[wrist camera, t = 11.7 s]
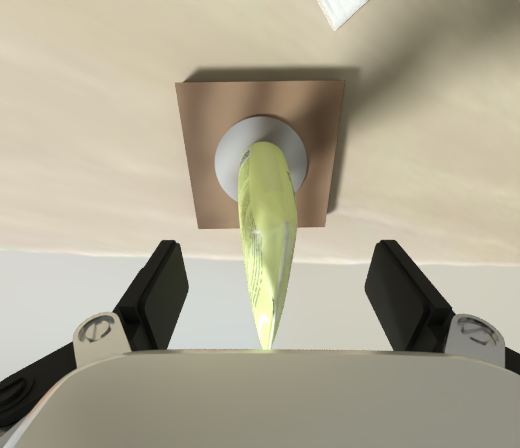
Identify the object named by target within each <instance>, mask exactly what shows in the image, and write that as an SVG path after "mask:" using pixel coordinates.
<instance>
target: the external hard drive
mask: <svg viewBox="0 0 520 448" xmlns="http://www.w3.org/2000/svg"><path fill="white" fill-rule="evenodd" d="M317 1H318V3H319V5H320V7H321V9H322V11H323V12H324V14H325V16H326V18H327V20H328V22H329V24H330V25H331V27H332V29H333V31H336V30H337V29H338V28H339V27H340V26H341V25H342V24H343V23H344V22H345V21H347V20H348V19H349V18H350V17H351V16H352V15H353V14H354V13H355V12H356V11H357V10H358V9H360V8H361V7H362V6H363V5H364V4H365V3H366V2H367V1H368V0H317Z"/></svg>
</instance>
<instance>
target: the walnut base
mask: <svg viewBox="0 0 520 448" xmlns="http://www.w3.org/2000/svg"><path fill="white" fill-rule="evenodd" d="M344 85H345V80H323V81H254V82H186V83H175V87H176V93H177V99H178V105H179V112H180V118H181V124H182V130H183V136H184V143H185V149H186V155H187V161H188V167H189V174H190V180H191V186H192V192H193V198H194V205H195V211H196V217H197V223H198V229H229V228H240V222H239V209H238V179H239V167H240V160H241V157H242V154H243V153H244V151H245V150H246V149H247V148H248V147H249V146H250V145H252V144H254V143H257V142H270V143H273V144H274V145H276V146H277V147H279V148H280V150H281V151H282V152H283V154H284V156H285V159H286V162H287V165H288V168H289V171H290V175H291V179H292V183H293V187H294V192H295V197H296V207H297V227H325V222H326V214H327V207H328V200H329V193H330V186H331V178H332V171H333V164H334V157H335V150H336V142H337V135H338V128H339V121H340V113H341V106H342V99H343V92H344Z"/></svg>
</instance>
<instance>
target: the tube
mask: <svg viewBox="0 0 520 448" xmlns="http://www.w3.org/2000/svg"><path fill="white" fill-rule="evenodd" d="M238 209H239V222H240V231H241V240H242V248H243V255H244V262H245V269H246V275H247V283H248V289H249V294H250V300H251V305H252V309H253V313H254V318H255V322H256V327H257V331H258V334H259V338H260V342H261V345H262V348H263V349H271V348H272V344H273V341H274V338H275V336H276V333H277V329H278V326H279V322H280V318H281V315H282V310H283V307H284V302H285V297H286V292H287V286H288V280H289V276H290V269H291V264H292V259H293V253H294V247H295V240H296V232H297V207H296V197H295V192H294V187H293V183H292V179H291V175H290V171H289V168H288V165H287V162H286V159H285V156H284V154H283V152H282V151H281V150H280V148H279V147H277V146H276V145H274V144H273V143H270V142H257V143H254V144H252V145H250V146H249V147H248V148H247V149H246V150H245V151H244V153H243V154H242V157H241V160H240V167H239V179H238Z"/></svg>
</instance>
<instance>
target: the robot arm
mask: <svg viewBox="0 0 520 448" xmlns="http://www.w3.org/2000/svg"><path fill="white" fill-rule="evenodd" d="M188 289H189V285H188V280H187V276H186V271H185V266H184V262H183V257H182V252H181V247H180V244H179V243H176V241H175V240H162V241H161V242H160V244H159V245H158V247H157V248H156V250H155V251H154V253H153V254H152V256H151V257H150V259H149V260H148V262H147V263H146V265H145V267H144V268H142V269H141V270H140V271H139V273H138V274H137V276H136V277H135V279H134V280H133V282H132V283H131V285H130V286H129V288H128V289H127V291H126V292H125V294H124V295H123V297H122V298H121V300H120V301H119V303H118V304H117V305H116V307H115V308H114V310H113V312H103V313H99V314H96V315H93V316H92V317H90V318H88V319H86V320H85V321H84V322H83V323H81V324H80V325H79V327H78V328H77V329H76V331H75V332H74V335H73V342H71V343H69V344H67V345H65V346H64V347H62V348H60V349H58V350H57V351H54V352H53V353H51V354H49V355H47V356H45V357H43V358H42V359H40V360H38V361H36V362H34V363H32V364H31V365H29V366H27V367H25V368H23V369H22V370H20V371H18V372H16V373H14V374H12V375H10V376H9V377H7V378H6V379H4V380H3V381H1V382H0V448H520V354H519V353H517V352H515V351H513V350H511V349H509V348H507V347H505V342H504V338H503V336H502V335H501V334H500V332H499V331H498V330H497V329H496V328H494V327H493V326H492V325H490V324H489V323H488V322H486V321H484V320H482V319H480V318H478V317H475V316H473V315H468V314H457V315H456V314H455V313H454V312H453V311H452V307H451V306H450V305H449V303H448V302H447V301H446V300H445V299H444V297H442V295H441V294H440V293H439V292H438V290H437V289H436V288H435V287H434V286H433V284H431V282H430V281H429V280H428V278H427V277H426V276H425V275H424V274H423V272H422V271H421V270H420V269H419V268H418V266H417V265H416V264H415V263H414V262H413V260H412V259H411V258H410V257H409V256H408V255H407V253H406V252H405V251H404V250H403V249H402V247H401V246H400V245H399V244H398V243H397V241H395V240H381V241H380V243H377V244H376V246H375V250H374V253H373V257H372V261H371V264H370V268H369V271H368V275H367V279H366V282H365V292H366V295H367V296H368V299H369V300H370V303H371V305H372V307H373V309H374V311H375V313H376V315H377V317H378V319H379V321H380V324H381V325H382V328H383V330H384V332H385V334H386V336H387V338H388V340H389V342H390V344H391V346H392V348H393V350H394V351H368V350H366V351H365V350H281V349H175V350H174V349H173V350H172V349H169V350H167V347H168V344H169V342H170V339H171V336H172V334H173V331H174V328H175V326H176V323H177V320H178V317H179V314H180V312H181V309H182V307H183V304H184V301H185V299H186V296H187V293H188Z"/></svg>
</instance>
